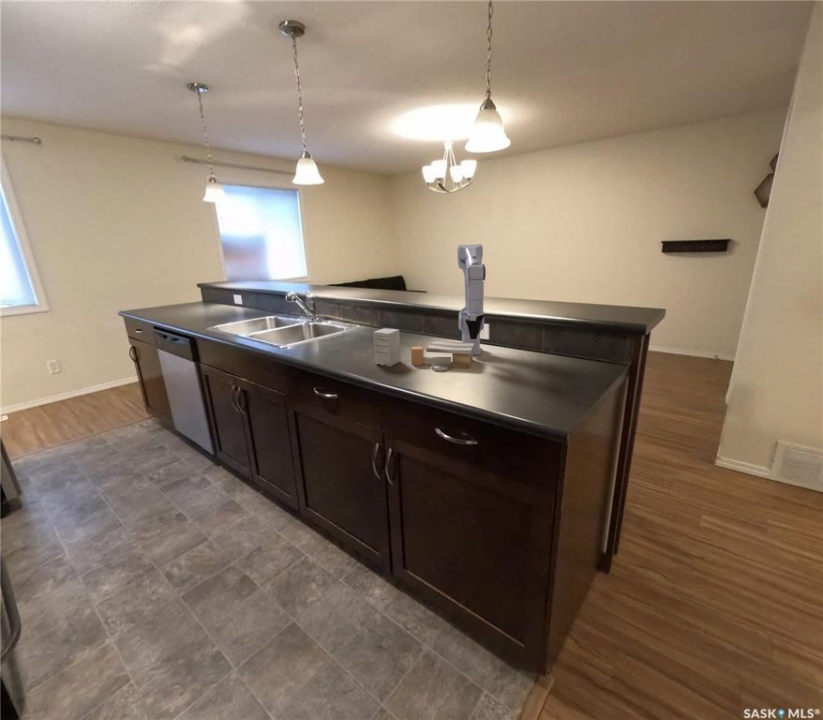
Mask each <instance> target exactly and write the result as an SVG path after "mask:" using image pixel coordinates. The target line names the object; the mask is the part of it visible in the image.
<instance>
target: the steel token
mask: <svg viewBox="0 0 823 720" xmlns="http://www.w3.org/2000/svg"><path fill="white" fill-rule="evenodd" d="M449 367H450V365H448V364H444V363H437V364H431V370H432V371H434V372H440V373H441V372H447V371H449V369H450V368H449Z"/></svg>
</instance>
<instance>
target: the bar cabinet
mask: <svg viewBox="0 0 823 720" xmlns="http://www.w3.org/2000/svg"><path fill="white" fill-rule="evenodd" d="M473 348H474V343H462V342H459V341H457V342H456V341H455V342H453V341H452V342H451V341H432V342H431V343H430V344H429V345H428V346H427V347H426V353H439V354H440V353H442V354H452V356H451V365H452V366H451V367H452V368H454V369H470V367H471V365H472V363H473V360H474V358H473V357H474V355H473Z"/></svg>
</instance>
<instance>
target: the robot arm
mask: <svg viewBox="0 0 823 720" xmlns="http://www.w3.org/2000/svg"><path fill="white" fill-rule="evenodd" d="M483 250H484V249H483V245H482V244H481V243H479V244H458V246H457V252H456V253H457V265H458V268H459V269H460V270H462V272H463V276H464V277H463V278H464V301H465V303H464V304H465V305H464V307H463V308H461V309H460V310H459V312H458V329H459V330H460V331H461V343H474V348H473V356H474V355H475V356H476V355H477V356H479V355H481V352H482V349H483V348H482V347H481V332H482V330H484V329H485V314H484V313H485V311H484V293H485V292H484V291H485V290H484V289H485V288H484V287H485V285H484V284H485V280H486V276H487V269H486V264H485V263H482V261H483V253H484V251H483Z"/></svg>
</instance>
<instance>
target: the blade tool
mask: <svg viewBox="0 0 823 720" xmlns="http://www.w3.org/2000/svg"><path fill="white" fill-rule="evenodd" d="M424 348H425V347H424V346H412V347H411V349H410V352H411V353H410V356H411V359H410V361H411V366H422V365H433V364H437V363H444V364H448V365H449V366H451V365H452V356H426V355H425V353H424V352H425V351H424Z"/></svg>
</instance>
